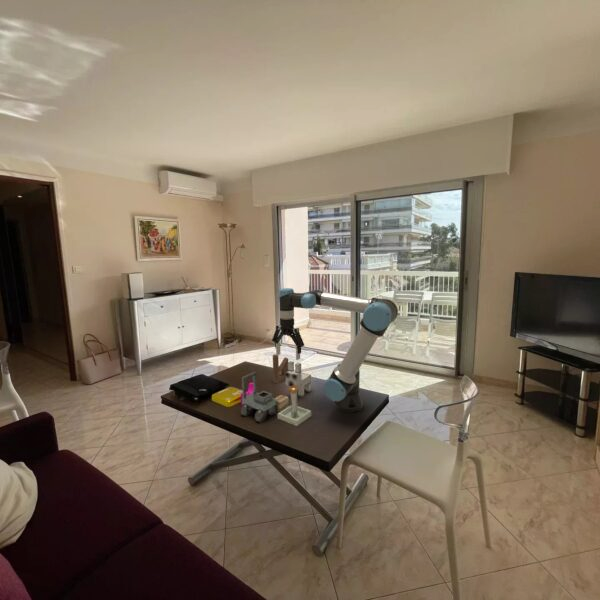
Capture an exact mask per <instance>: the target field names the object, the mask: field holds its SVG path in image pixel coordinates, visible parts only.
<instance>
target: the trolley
mask: <svg viewBox="0 0 600 600" xmlns="http://www.w3.org/2000/svg"><path fill="white" fill-rule="evenodd" d="M250 378H252V383H253V393H251V394H249V395H247V396H246V392H247V390H246V389H247V388H246V387H247V386H246V380H248V379H250ZM241 388H242V389H241V390H242V393H243V398H242V403H243V404H244V405H241V407H240V414H241V416H244V417H247V416H249V415H251V414H252V413H253V410H256V411H255V413H254V420H255V421H256V422H258V423H262V422H265V420H267V419H266V418H267V416H268V415H269V416H274V415H276V414H277V412H278V411H277V408H278V407H277V404H276V399H275V398H276V397H275V398H274V397H273V393H271V392H268V391H266V390H262V391H260V392H258V391H257V389H258V388H257V373H256V371H254V372H251V373H249V374H247V375H244V376H242V377H241Z"/></svg>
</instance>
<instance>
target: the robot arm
mask: <svg viewBox="0 0 600 600" xmlns="http://www.w3.org/2000/svg"><path fill="white" fill-rule="evenodd" d="M278 299H279V301H278V302H279V325H276V326H275V331H274V334H273V336H272V339H271V342H273V343H274V346H275V347H274V348H275V353H276V355H278V356H279V355H281V342H280V341H281V340H282V339H283V337H284V336H287V337H290V338H291V339H292V341H293V343H294V344H295V360H296V361H298V360H301V353H302V347H305V342H304V340H303V338H302V335H301V333H300V328H299V327H296V328H295V327H294V325H295V308H297V309H306V310H307V309H314V308H315V306H320V307H325V308H326V307H327V308H331V309H337V310H338V309H339V310H343V311H348V312H352V313H353V312H354V313H358V314H362V318H361V321H360V322H359V325H360V329H359V331H358V333H356V336H355V338H354V340H353V341H352V344H351V345H350V347H349V348H348V350H347V352H346V354H345V355H344V357H343V358H342V361H341V362H340V363H338V364H336V365H337V366H336V367H334V369H333V370H332V373H330V376H329V377H328V378H327V379H326V380H325V381H324V382H323V386H322V389H323V393H324V395H325V396H326V397H327V398H328V399H329V400H330V401H332V402H333V404H334V405H333V406H335V407H334V408H335V409H336V410H338V411H340V412H343V411H345V412H344V413H356V412H355V411H357V412H360V411H361V410H362V409H363V400H362V396H361V394H360V376H361V375H360V374H361V373H360V372H361V371H360V369H361V368H360V367H362V365H363V363H364V361H365V360H366V358H367V356H368V354H369V353H370V351H371V350H372V348H373V346H374V345H375V343H376V341H377V340H378V338H380V337H384V335H385V333H386V331H387V329H388V328H389V327H390V324H392V323H393V322H395V320H396V319H397V317H398V314H399V309H398V306H397V304H396V303H395V302H394V301H393V300H391V299H389V298H380V297H379V298H378V297H371V298H363V297H360V296H359V297H358V296H353V295H345V294H339V293H333V292H327V291H323V290H322V289H314V290H310V291H306V292H295V291H294V288H293V287H292V288H291V287H290V288H289V287H286V288H285V287H284V288H281V289H279V295H278Z"/></svg>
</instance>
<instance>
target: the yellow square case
mask: <svg viewBox="0 0 600 600" xmlns="http://www.w3.org/2000/svg"><path fill="white" fill-rule="evenodd" d="M241 393H242V389H241V388H240V389H239V388H237V387H234V386H229V387H227V388H224V389H222V390H219V391H217V392H215V393H213V394H212V395H211V401H212V402H214V403H217V404H219V405H221V406H222V407H226V408H231V407H233V406H235V405H237V404H239V403H241Z"/></svg>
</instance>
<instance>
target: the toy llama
mask: <svg viewBox="0 0 600 600" xmlns="http://www.w3.org/2000/svg"><path fill="white" fill-rule="evenodd" d="M285 375H286V380H285V385H286V386H289V387H290V386H298V389H299V390H298V391H297V397H300V398H302V397H304V396H305V392H307V393H310V392H311V391H312V374H309V373H305V372H302V363H300V362H296V363H295V361H292V360H291V361H288V371H287V372H285Z"/></svg>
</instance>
